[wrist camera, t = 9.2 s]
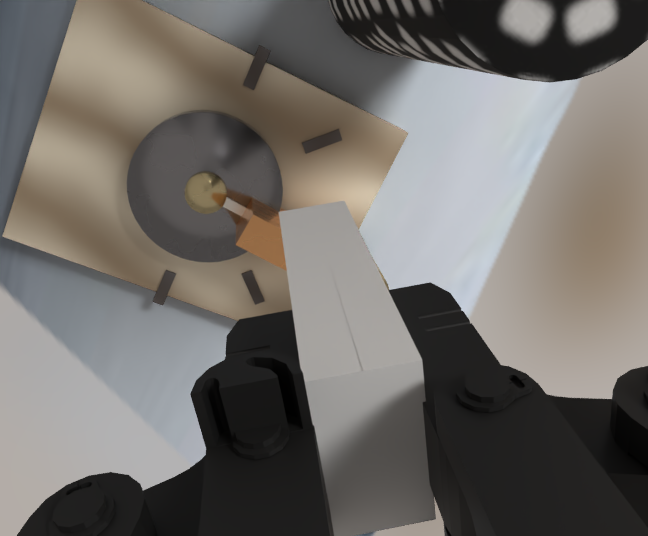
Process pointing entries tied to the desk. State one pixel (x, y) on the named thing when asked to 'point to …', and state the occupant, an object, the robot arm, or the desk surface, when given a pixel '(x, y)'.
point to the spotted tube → (501, 33)
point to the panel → (150, 110)
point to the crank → (208, 189)
